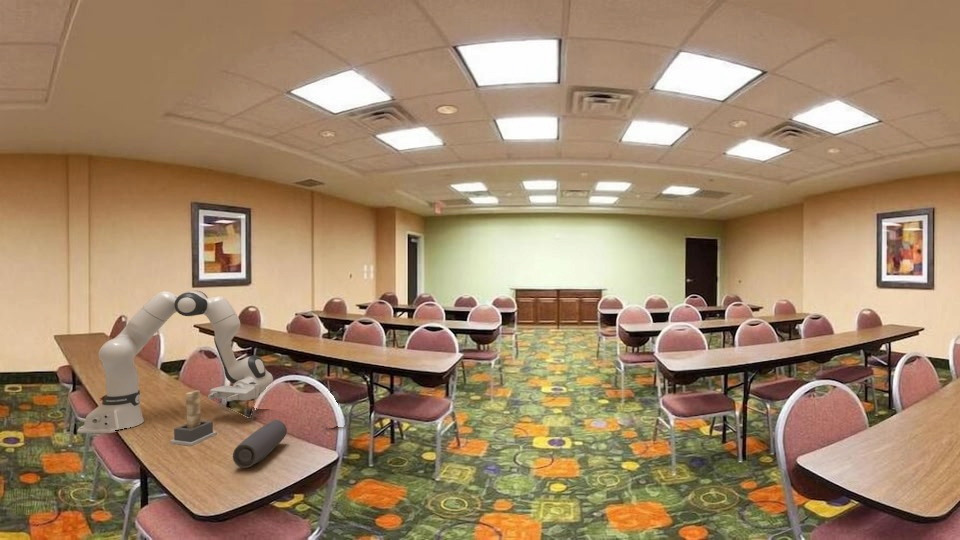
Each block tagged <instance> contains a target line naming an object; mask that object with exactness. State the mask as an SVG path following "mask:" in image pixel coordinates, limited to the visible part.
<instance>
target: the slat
mask: <svg viewBox="0 0 960 540" xmlns="http://www.w3.org/2000/svg"><path fill="white" fill-rule="evenodd" d="M185 397H186V398H185V400H186V403H185V404H186V407H185V408H186V424H187V429H193V428H195V427H198V426H200V425H201V420H202V419H201V391H200V390H191V391H189V392H186V393H185Z"/></svg>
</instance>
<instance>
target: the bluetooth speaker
mask: <svg viewBox="0 0 960 540" xmlns="http://www.w3.org/2000/svg"><path fill="white" fill-rule="evenodd" d="M287 433H288V429H287V426H286V424H285V423H284V422H283V421H282V420H279V419H276V420H272V421H270V422H268V423H266V424H264V425H263V426H261V427H260V428H258V429H257V430H256V431H254V432H253V433H251V434H250V435H249V436H247V437H246V438H245V439H244V440H242V441H241V442H240V443H239V444H238V445H237V446H236V447H235V448H234V450H233V453H232V460H233V462H234V464H235V465H236V466H238V467H240V468H245V469H246V468H250V467H252V466H254V465H255V464H258V463H261V462H262V461H264V460H265V458H266V457H267V455H268V454H269V453H270V452H271V453H272V451H273V450H274V449H275V448H276V447H277V446H278V445H279V444H280V443H281V442H282V441H283V440H284V438H285V437H286V435H287ZM271 453H270V454H271ZM270 454H269V455H270ZM269 455H268V456H269Z"/></svg>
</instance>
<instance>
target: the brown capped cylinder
mask: <svg viewBox="0 0 960 540" xmlns="http://www.w3.org/2000/svg"><path fill="white" fill-rule="evenodd" d="M330 387H331V386H330V381H329V380H327V388H328V391H330V393H331V394H332V395H333V396H334V398H335V400H336V402H337V403H338V406H339V404H340V400H341V399H340V396H339V395H340V394H339V393H337V391H334V390H331V389H330Z"/></svg>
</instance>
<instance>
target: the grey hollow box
mask: <svg viewBox="0 0 960 540" xmlns="http://www.w3.org/2000/svg"><path fill="white" fill-rule="evenodd" d="M200 420H201V425H200V426H198V427H195V428H193V429H187V423H185V424H182V425H180V426H177V427H175V428H174V429H173V436H174V438H173V439H171V440H169V443H170V444H173V445H180V446H181V445H182V446H187V447H188V446H189V447H192V446H194V445H197V444H199V443H200V442H203V441H206V440H207V439H209V438H212V437H214V436H216V435H217V434H218V431H214V428H213V427H214V425H213V421H212V420H211V421H210V420H202V419H200Z"/></svg>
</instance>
